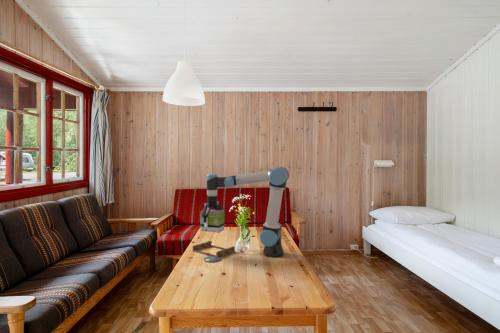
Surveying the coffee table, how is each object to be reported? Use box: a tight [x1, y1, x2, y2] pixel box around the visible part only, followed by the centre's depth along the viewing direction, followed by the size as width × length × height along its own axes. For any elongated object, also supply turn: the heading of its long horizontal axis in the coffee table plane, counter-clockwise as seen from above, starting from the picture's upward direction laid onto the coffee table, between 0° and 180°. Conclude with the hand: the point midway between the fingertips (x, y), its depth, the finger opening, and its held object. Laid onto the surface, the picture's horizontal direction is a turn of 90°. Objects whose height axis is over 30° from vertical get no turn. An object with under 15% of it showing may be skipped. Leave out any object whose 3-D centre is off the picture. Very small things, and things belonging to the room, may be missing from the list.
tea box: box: [199, 209, 225, 234], centre depth 225 cm, size 15×10×15 cm, turn 71°
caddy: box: [192, 240, 236, 258], centre depth 236 cm, size 18×27×4 cm, turn 51°
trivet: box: [203, 255, 222, 263], centre depth 217 cm, size 12×12×1 cm
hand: (212, 225), depth 226 cm, fingers closed on tea box, 12 cm apart
